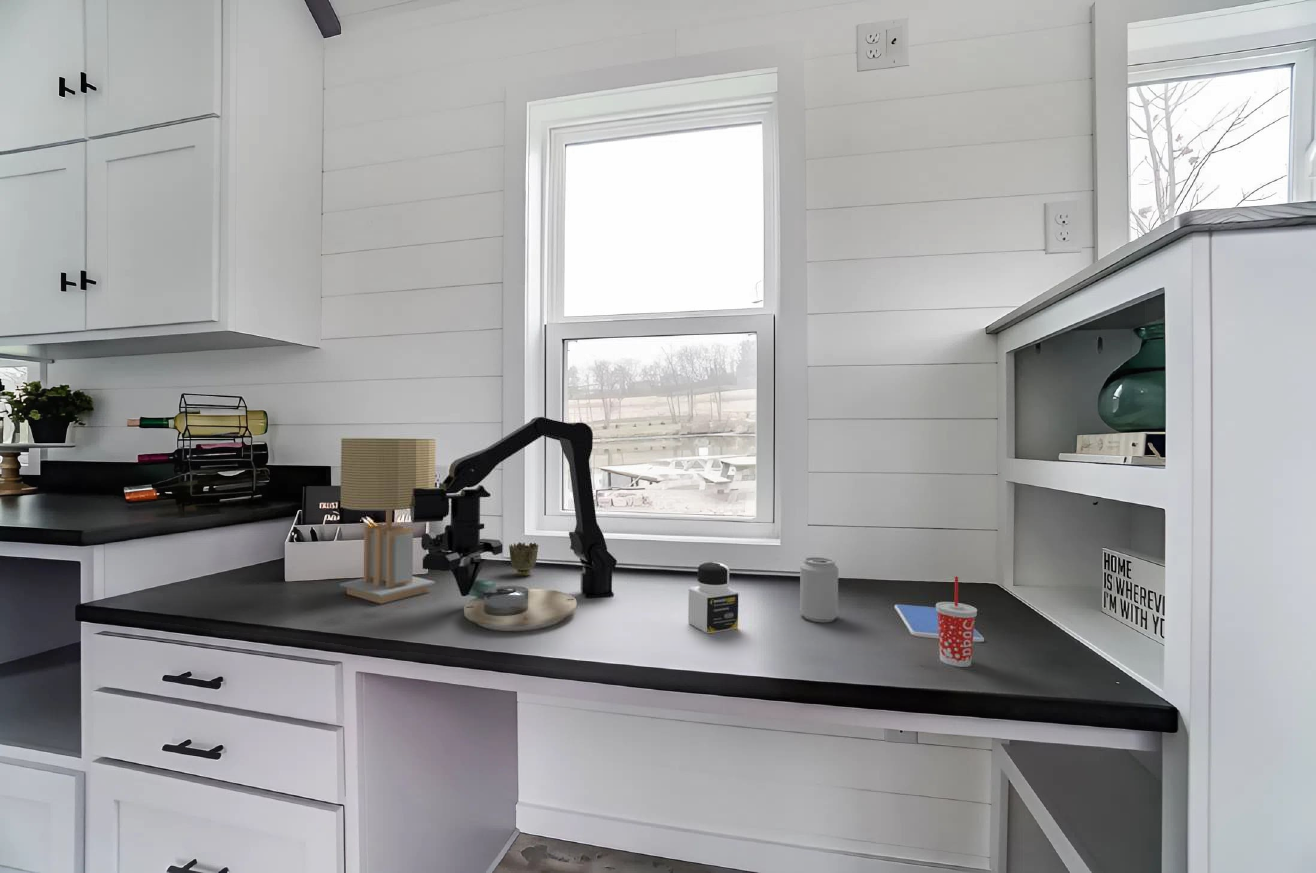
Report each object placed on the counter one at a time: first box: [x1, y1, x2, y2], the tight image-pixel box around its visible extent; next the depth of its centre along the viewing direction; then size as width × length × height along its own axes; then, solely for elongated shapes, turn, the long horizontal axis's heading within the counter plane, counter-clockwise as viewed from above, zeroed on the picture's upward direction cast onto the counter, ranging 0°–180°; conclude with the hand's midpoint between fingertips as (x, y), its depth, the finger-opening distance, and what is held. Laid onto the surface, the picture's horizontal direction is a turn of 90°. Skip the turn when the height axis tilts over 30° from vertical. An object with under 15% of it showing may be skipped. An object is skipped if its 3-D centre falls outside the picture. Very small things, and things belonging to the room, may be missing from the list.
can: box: [799, 556, 839, 623], centre depth 116 cm, size 8×8×12 cm
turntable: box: [463, 578, 578, 626], centre depth 115 cm, size 22×22×4 cm
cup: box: [508, 541, 539, 577], centre depth 148 cm, size 8×7×8 cm
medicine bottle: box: [687, 561, 739, 635], centre depth 110 cm, size 7×7×12 cm
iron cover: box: [484, 585, 529, 616], centre depth 111 cm, size 8×8×4 cm
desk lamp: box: [339, 437, 436, 605], centre depth 130 cm, size 20×20×35 cm
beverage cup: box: [935, 576, 978, 668], centre depth 94 cm, size 6×6×14 cm
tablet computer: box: [894, 604, 985, 643], centre depth 114 cm, size 19×13×1 cm, turn 167°
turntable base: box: [476, 618, 565, 632], centre depth 115 cm, size 18×18×1 cm
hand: (464, 595), depth 117 cm, fingers closed
